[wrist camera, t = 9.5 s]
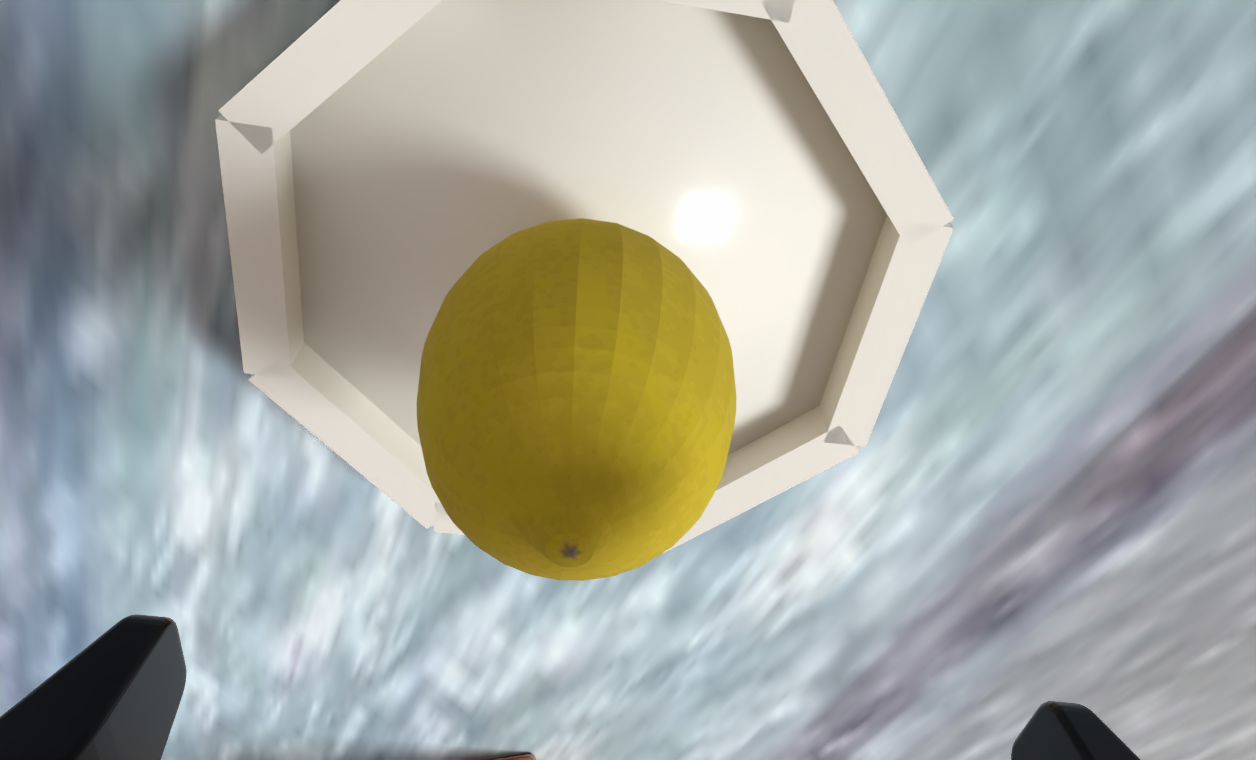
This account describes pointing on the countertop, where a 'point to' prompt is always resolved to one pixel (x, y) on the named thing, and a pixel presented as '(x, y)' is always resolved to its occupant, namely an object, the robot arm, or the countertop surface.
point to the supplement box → (520, 757)
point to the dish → (577, 207)
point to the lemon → (576, 400)
